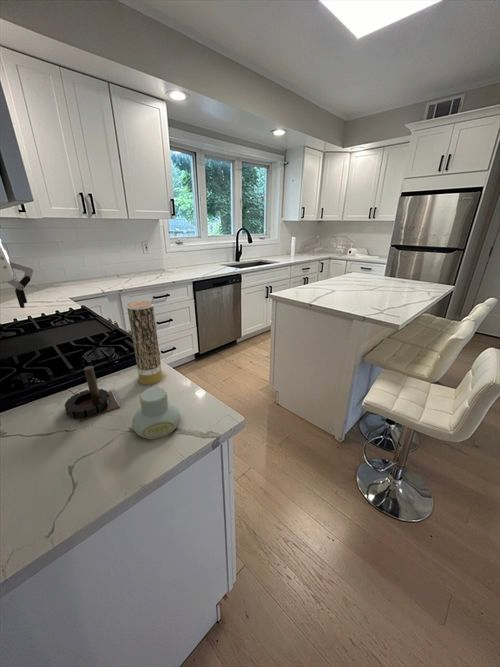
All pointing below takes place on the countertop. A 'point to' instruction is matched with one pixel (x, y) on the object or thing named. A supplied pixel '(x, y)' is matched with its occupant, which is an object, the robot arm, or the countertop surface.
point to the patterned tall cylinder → (145, 341)
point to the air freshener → (155, 415)
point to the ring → (88, 410)
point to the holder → (96, 394)
